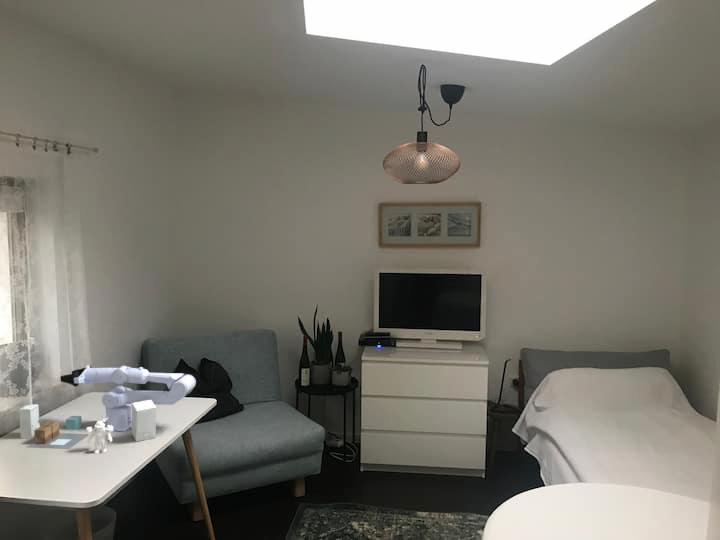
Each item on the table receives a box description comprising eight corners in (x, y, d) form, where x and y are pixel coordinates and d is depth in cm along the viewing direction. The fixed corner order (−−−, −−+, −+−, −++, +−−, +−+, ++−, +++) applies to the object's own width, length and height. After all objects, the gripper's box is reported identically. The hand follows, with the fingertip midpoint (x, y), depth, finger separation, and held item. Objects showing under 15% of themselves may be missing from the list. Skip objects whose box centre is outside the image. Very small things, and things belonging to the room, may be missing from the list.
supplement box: (156, 437, 217) (156, 407, 214) (135, 442, 213) (136, 411, 210) (151, 428, 223) (151, 399, 220) (131, 432, 219) (131, 402, 216)
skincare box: (32, 441, 213) (30, 409, 212) (20, 441, 213) (18, 409, 212) (40, 434, 219) (39, 404, 218) (28, 434, 219) (27, 404, 218)
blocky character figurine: (114, 448, 207) (113, 415, 206) (113, 452, 203) (112, 419, 202) (87, 451, 204) (86, 418, 203) (85, 455, 201) (84, 422, 199)
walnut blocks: (59, 435, 216) (58, 422, 216) (45, 443, 208) (44, 430, 207) (49, 434, 216) (48, 421, 216) (34, 443, 208) (34, 430, 208)
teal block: (81, 428, 226) (81, 416, 226) (76, 432, 222) (75, 419, 222) (72, 428, 226) (71, 415, 226) (66, 431, 222) (65, 419, 222)
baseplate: (90, 436, 217) (90, 433, 217) (68, 451, 204) (68, 448, 203) (50, 435, 219) (49, 432, 219) (26, 449, 205) (25, 446, 205)
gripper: (108, 360, 232) (76, 361, 233) (88, 370, 218) (54, 371, 219) (109, 377, 233) (77, 378, 234) (90, 388, 219) (56, 389, 220)
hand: (66, 376), depth 227 cm, fingers open, 7 cm apart
